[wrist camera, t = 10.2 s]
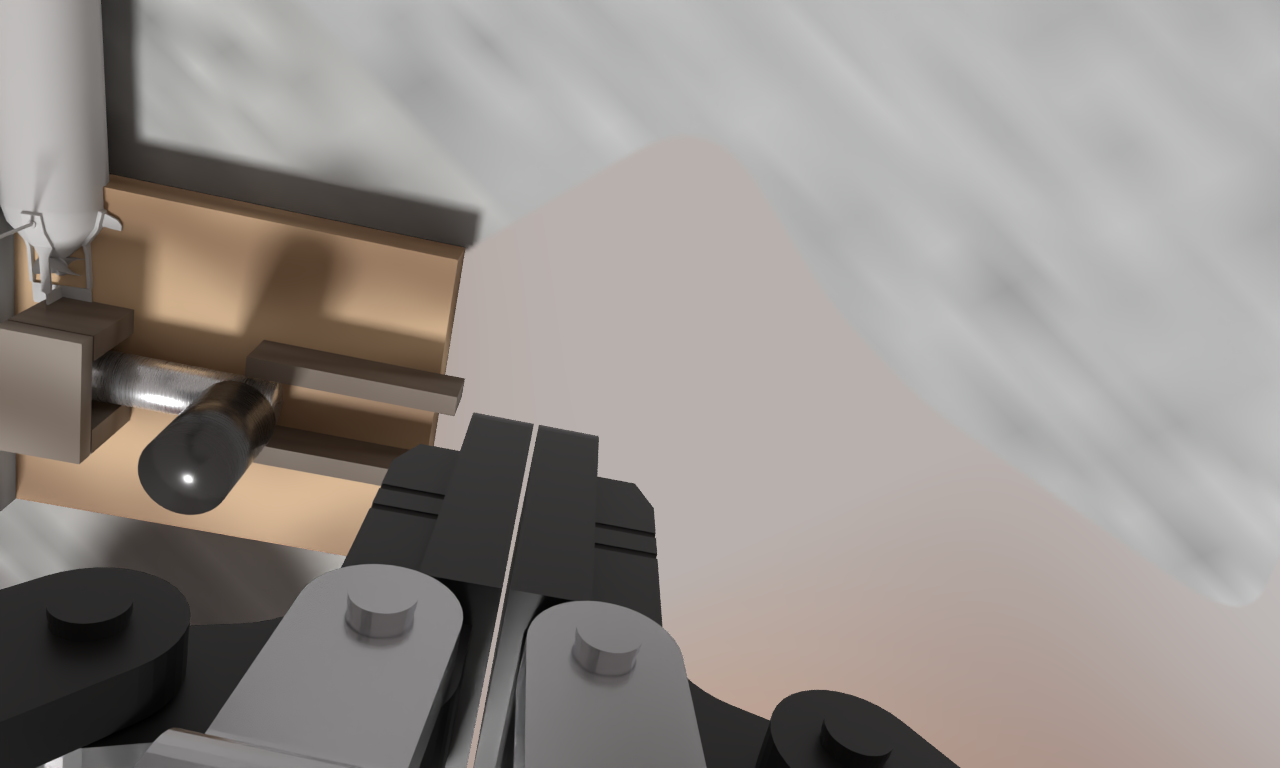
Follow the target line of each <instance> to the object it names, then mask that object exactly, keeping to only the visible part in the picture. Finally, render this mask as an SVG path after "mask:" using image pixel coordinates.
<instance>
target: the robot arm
mask: <svg viewBox="0 0 1280 768" xmlns="http://www.w3.org/2000/svg"><path fill="white" fill-rule="evenodd" d="M533 425H534V424H531V423H525V422H521V421H515V420H510V419H505V418H500V417H494V416H489V415H484V414H478V413H473V415H472V418H471V421H470V424H469V427H468V430H467V433H466V436H465V439H464V442H463V444H462V447H461V450H460V451H455V450H450V449H445V448H440V447H435V446H429V445H424V444H419V445H417V446H416V447H414V448H412V449H411V450H409V451H407V452H406V453H404V454H402V455H401V456H399V457H397V458H395V459H394V460H392V462H391V465H390V467H389V469H388V471H387V473H386V475H385V477H384V479H383V481H382V483H381V488H379V490H378V492H377V494H376V496H375V498H374V500H373V502H372V506H371V508H369V511H368V513H367V515H366V517H365V519H364V521H363V523H362V525H361V527H360V529H359V531H358V533H357V536H356V538H355V540H354V542H353V544H352V546H351V548H350V550H349V552H348V554H347V556H346V559H345V561H344V563H343V565H342V567H341V568H339V569H336V570H333V571H330V572H327V573H325V574H323V575H321V576H319V577H317V578H316V579H314V580H313V581H312V582H310V583H309V584H308V585H306V587H305V588H304V589H303V590H302V591H301V592H300V594H299V595H298V597H297V598H296V600H295V601H294V603H293V604H292V606H291V607H290V609H289V610H288V612H287V613H286V615H285V616H283V617H280V618H276V619H272V620H266V621H261V622H254V623H242V624H220V625H195V626H189V625H190V609H189V604H188V602H187V601H186V599H185V597H184V596H183V594H182V593H181V592H180V591H179V590H178V589H177V588H176V587H174V586H173V585H171V584H170V583H168V582H167V581H165V580H162V579H160V578H158V577H156V576H153V575H150V574H147V573H144V572H139V571H134V570H129V569H120V568H85V569H76V570H70V571H64V572H59V573H55V574H52V575H48V576H44V577H41V578H37V579H34V580H31V581H28V582H24V583H21V584H18V585H14V586H11V587H8V588H5V589H1V590H0V768H467V763H468V758H469V753H470V748H471V743H472V738H473V733H474V728H475V723H476V717H477V712H478V707H479V702H480V697H481V692H482V687H483V682H484V677H485V672H486V667H487V662H488V657H489V652H490V647H491V642H492V637H493V632H494V627H495V622H496V617H497V612H498V607H499V602H500V597H501V592H502V587H503V582H504V576H505V571H506V566H507V561H508V555H509V550H510V545H511V540H512V534H513V529H514V524H515V519H516V513H517V509H518V503H519V497H520V493H521V488H522V482H523V477H524V472H525V467H526V462H527V456H528V451H529V446H530V441H531V435H532V430H533ZM598 442H599V437H598V436H595V435H590V434H584V433H579V432H574V431H569V430H563V429H558V428H553V427H547V426H542V425H539V428H538V433H537V437H536V442H535V447H534V452H533V457H532V462H531V467H530V472H529V478H528V482H527V487H526V492H525V497H524V502H523V508H522V512H521V517H520V522H519V527H518V532H517V537H516V542H515V547H514V552H513V557H512V562H511V567H510V572H509V578H508V583H507V589H506V594H505V599H504V604H503V610H502V616H501V621H500V627H499V632H498V637H497V642H496V648H495V653H494V659H493V664H492V670H491V675H490V680H489V686H488V692H487V697H486V702H485V708H484V713H483V718H482V724H481V729H480V736H479V740H478V746H477V751H476V757H475V762H474V768H960V767H959V766H957V765H956V764H955V763H953V762H952V761H951V760H950V759H949V758H947V757H946V756H945V755H944V754H942V753H941V752H940V751H938V750H937V749H936V748H935V747H934V746H932V745H931V744H930V743H928V742H927V741H926V740H925V739H923V738H922V737H921V736H920V735H918V734H917V733H916V732H915V731H913V730H912V729H911V728H910V727H908V726H907V725H906V724H905V723H903V722H902V721H901V720H899V719H898V718H897V717H895V716H894V715H892V714H891V713H889V712H888V711H886V710H884V709H882V708H881V707H879V706H877V705H874V704H872V703H871V702H868V701H866V700H864V699H861V698H858V697H855V696H853V695H849V694H845V693H840V692H836V691H828V690H809V691H802V692H798V693H795V694H792V695H790V696H788V697H786V698H785V699H783V700H782V701H781V702H780V703H779V704H778V705H777V706H776V708H775V710H774V711H773V713H772V716H771V719H770V720H767V719H765V718H762V717H760V716H757V715H755V714H752V713H749V712H747V711H745V710H742V709H740V708H737V707H735V706H732V705H730V704H728V703H725V702H723V701H721V700H719V699H717V698H715V697H713V696H711V695H710V694H708V693H706V692H705V691H703V690H702V689H700V688H699V687H698V686H696V685H695V684H693V683H692V682H691V681H690V680H689V679H688V678H687V674H686V669H685V665H684V661H683V656H682V653H681V651H680V648H679V646H678V645H677V643H676V642H675V640H674V639H673V638H672V637H671V636H670V634H669V633H668V632H667V631H666V630H665V629H664V628H662V617H661V616H662V615H661V603H660V588H659V574H658V561H657V559H656V556H657V547H656V538H655V520H654V508H653V507H652V505H651V504H650V503H649V502H648V500H647V499H646V498H645V496H644V495H643V494H642V492H641V491H640V490H639V489H638V487H637V486H636V485H635V484H634V483H628V482H623V481H617V480H612V479H607V478H601V477H597V469H598V468H597V467H598Z"/></svg>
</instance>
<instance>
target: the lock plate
mask: <svg viewBox="0 0 1280 768" xmlns="http://www.w3.org/2000/svg"><path fill="white" fill-rule="evenodd" d="M103 203H104V209H105V210H107V213H108V214H109V215H111V216H113V217H115V218H116V219H118V220H119V221H120V223H121V224H122V231H118V230H114V229H110V228H107V227H103V229H102V230H101V231H100V232H99V234H98V235H97V236H96V237H95V239H94V240H93V241H92V242H91V258H92V277H93V288H92V301H93V302H87V301H82V300H76V299H71V298H66V297H62V298H60V299H58V300H57V301H55V302H53V303H51V304H49V305H47V304H46V299H45V300H43V301H41V302H34V300H33V291H32V282H31V281H29V269H28V256H27V246H26V244H25V241H24V239H23V238H22V237H21V236H20V235H19V233H18V232H16V233H13V234H11V235H8V236H6V237H4V238H1V239H0V511H1V510H3V509H4V508H5V507H6V506H7V505H9V504H10V503H11V502H12V501H13V500H15V499H16V498H17V499H23V500H28V501H34V502H40V503H46V504H51V505H57V506H63V507H68V508H74V509H80V510H86V511H91V512H97V513H103V514H109V515H114V516H120V517H126V518H132V519H137V520H143V521H149V522H154V523H160V524H166V525H172V526H177V527H183V528H189V529H195V530H200V531H206V532H212V533H217V534H223V535H229V536H235V537H240V538H246V539H252V540H258V541H263V542H269V543H275V544H280V545H286V546H292V547H298V548H303V549H309V550H315V551H321V552H326V553H332V554H338V555H343V556H347V554H348V552H349V550H350V548H351V546H352V544H353V542H354V540H355V538H356V536H357V533H358V531H359V529H360V527H361V525H362V523H363V521H364V519H365V517H366V515H367V513H368V511H369V508H371V506H372V502H373V500H374V498H375V496H376V494H377V492H378V490H379V488H381V483H382V481H383V479H384V477H385V475H386V473H387V471H388V469H389V467H390V465H391V462H392V460H394V459H395V458H397V457H399V456H401V455H402V454H404V453H406V452H407V451H409V450H411V449H412V448H414V447H416V446H417V445H419V444H424V445H429V446H434V440H435V433H436V428H437V422H438V415H439V413H441V414H446V415H452V416H454V415H455V413H456V410H457V407H458V405H459V402H460V400H461V397H462V392H463V386H464V380H465V379H464V378H459V377H453V376H448V375H445V372H446V365H447V359H448V353H449V347H450V340H451V334H452V328H453V322H454V315H455V309H456V303H457V297H458V290H459V284H460V278H461V271H462V265H463V259H464V253H465V248H464V247H459V246H454V245H450V244H445V243H440V242H435V241H430V240H425V239H421V238H416V237H411V236H406V235H401V234H397V233H392V232H387V231H382V230H377V229H372V228H368V227H363V226H358V225H353V224H348V223H344V222H339V221H334V220H329V219H324V218H320V217H315V216H310V215H305V214H300V213H295V212H291V211H286V210H281V209H276V208H271V207H267V206H262V205H257V204H252V203H247V202H242V201H238V200H233V199H228V198H223V197H218V196H214V195H209V194H204V193H199V192H194V191H189V190H185V189H180V188H175V187H170V186H165V185H161V184H156V183H151V182H146V181H141V180H136V179H132V178H127V177H122V176H117V175H112V174H109V183H108V184H107V185H106V186H104V187H103ZM13 229H14V228H13V227H12V226H11V225H10V224H9V223H8V222H7V221H6V218H5V216H4V213H3V211H2V208H1V206H0V235H1V234H3V233H6V232H8V231H11V230H13ZM33 249H34V262H35V261H36V259H39V256H38V254H37V252H36V250H35V248H34V246H33ZM69 257H77V258H82V259H85V253H84V250H83V246H81V247H80V248H79V249H78V250H76V251H75V252H74V253H73V254H72V255H70V256H69ZM68 269H70V270H71V271H72V272H74V273H76V274H79V275H81V276H78V275H70V274H66V275H63V276H59V275H56V274H55V273H51V278H52V284H56V285H64V286H72V287H79V288H87V279H86V262H85V260H75V261H72V262H71V263H70V264H69V265H68ZM35 276H36V280H35V282H41V278H40V274H35ZM87 289H88V288H87ZM109 350H112V351H118V352H123V353H128V354H133V355H139V356H144V357H149V358H154V359H160V360H165V361H170V362H175V363H181V364H186V365H191V366H196V367H202V368H207V369H212V370H217V371H223V372H228V373H233V374H238V375H244V376H246V377H252V378H257V379H262V380H267V381H273V382H278V383H282V386H283V401H282V407H281V411H280V415H279V418H278V421H277V423H276V426H275V431H274V434H273V436H272V438H271V439H270V441H269V442H268V443H267V445H266V446H265V447H264V449H263V450H262V451H261V452H260V454H259V455H258V456H257V458H256V459H255V460H254V461H253V463H252V464H251V465H250V467H249V468H248V469H247V470H246V472H245V473H244V474H243V476H242V477H241V478H240V480H239V481H238V482H237V483H236V485H235V486H234V487H233V489H232V490H231V491H230V492H229V494H228V495H227V496H226V498H225V499H224V500H223V501H222V503H221V504H220V505H219V506H217V507H216V508H214V509H213V510H211V511H209V512H206V513H203V514H197V515H184V514H179V513H175V512H172V511H169V510H167V509H165V508H163V507H162V506H160V505H158V504H157V503H156V502H155V501H153V500H152V499H151V498H150V497H149V495H148V494H147V493H146V492H145V490H144V489H143V487H142V485H141V483H140V479H139V476H138V461H139V457H140V455H141V453H142V451H143V450H144V448H145V447H146V446H147V445H148V444H149V443H150V442H151V441H152V440H153V439H154V438H155V437H156V436H157V435H158V434H159V433H160V432H161V431H162V430H164V429H165V428H166V427H167V426H168V425H169V424H170V423H171V422H172V421H173V420H174V419H175V418H176V417H177V416H178V415H172V414H167V413H162V412H156V411H151V410H145V409H140V408H135V407H129V406H124V405H118V404H113V403H108V402H102V401H97V400H91V397H92V361H95V360H96V359H98V358H99V357H101V356H102V355H103V354H105V353H106V352H108V351H109Z"/></svg>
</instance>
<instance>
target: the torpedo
mask: <svg viewBox="0 0 1280 768" xmlns="http://www.w3.org/2000/svg"><path fill="white" fill-rule="evenodd" d="M108 183H109V161H108V140H107V119H106V98H105V76H104V55H103V34H102V13H101V0H0V206H1V208H2V211H3V213H4V216H5V218H6V221H7V222H8V223H9V224H10V225H11V226H12V227H13V228H14V229H13V230H11V231H8V232H6V233H3V234H1V235H0V239H1V238H4V237H6V236H8V235H11V234H13V233H16V232H18V233H19V235H20V236H21V237H22V238H23V239H24V241H25V244H26V246H27V256H28V269H29V281H31V282H32V291H33V300H34V302H41V301H43V300H45V299H46V304H47V305H49V304H51V303H53V302H55V301H57V300H58V299H60V298H62V297H66V298H71V299H76V300H82V301H87V302H93V301H92V288H93V277H92V258H91V242H92V241H93V240H94V239H95V237H96V236H97V235H98V234H99V232H100V231H101V230H102V229H103V227H107V228H110V229H114V230H118V231H122V224H121V223H120V221H119V220H118V219H116V218H115V217H113V216H111V215H109V214H108V213H107V210H105V209H104V203H103V187H104V186H106V185H107V184H108ZM33 246H34V248H35V250H36V252H37V254H38V256H39V259H36V261H35V262H34V249H33ZM81 246H83V250H84V253H85V259H82V258H77V257H69V256H70V255H72V254H73V253H74V252H75V251H76V250H78V249H79V248H80V247H81ZM75 260H85V262H86V279H87V288H88V289H87V288H79V287H72V286H64V285H56V284H52V278H51V273H55V274H56V275H59V276H63V275H66V274H70V275H78V276H81V275H79V274H76V273H74V272H72V271H71V270H70V269H68V265H69V264H70V263H71V262H72V261H75ZM35 274H40V278H41V282H35V280H36V276H35Z"/></svg>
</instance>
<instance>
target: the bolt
mask: <svg viewBox="0 0 1280 768" xmlns="http://www.w3.org/2000/svg"><path fill="white" fill-rule="evenodd" d="M91 400H97V401H102V402H108V403H113V404H118V405H124V406H129V407H135V408H140V409H145V410H151V411H156V412H162V413H167V414H172V415H178V416H177V417H176V418H175V419H174V420H173V421H172V422H171V423H170V424H169V425H168V426H167V427H166V428H165V429H164V430H162V431H161V432H160V433H159V434H158V435H157V436H156V437H155V438H154V439H153V440H152V441H151V442H150V443H149V444H148V445H147V446H146V447H145V448H144V450H143V451H142V453H141V455H140V457H139V461H138V476H139V479H140V483H141V485H142V487H143V489H144V490H145V492H146V493H147V494H148V495H149V497H150V498H151V499H152V500H153V501H155V502H156V503H157V504H158V505H160V506H162V507H163V508H165V509H167V510H169V511H172V512H175V513H179V514H184V515H197V514H203V513H206V512H209V511H211V510H213V509H214V508H216V507H217V506H219V505H220V504H221V503H222V501H223V500H224V499H225V498H226V496H227V495H228V494H229V492H230V491H231V490H232V489H233V487H234V486H235V485H236V483H237V482H238V481H239V480H240V478H241V477H242V476H243V474H244V473H245V472H246V470H247V469H248V468H249V467H250V465H251V464H252V463H253V461H254V460H255V459H256V458H257V456H258V455H259V454H260V452H261V451H262V450H263V449H264V447H265V446H266V445H267V443H268V442H269V441H270V439H271V438H272V436H273V434H274V431H275V426H276V423H277V421H278V418H279V415H280V411H281V407H282V401H283V386H282V383H278V382H273V381H267V380H262V379H257V378H252V377H246V376H244V375H238V374H233V373H228V372H223V371H217V370H212V369H207V368H202V367H196V366H191V365H186V364H181V363H175V362H170V361H165V360H160V359H154V358H149V357H144V356H139V355H133V354H128V353H123V352H118V351H112V350H109V351H108V352H106V353H105V354H103V355H102V356H101V357H99V358H98V359H96V360H95V361H92V397H91Z"/></svg>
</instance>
